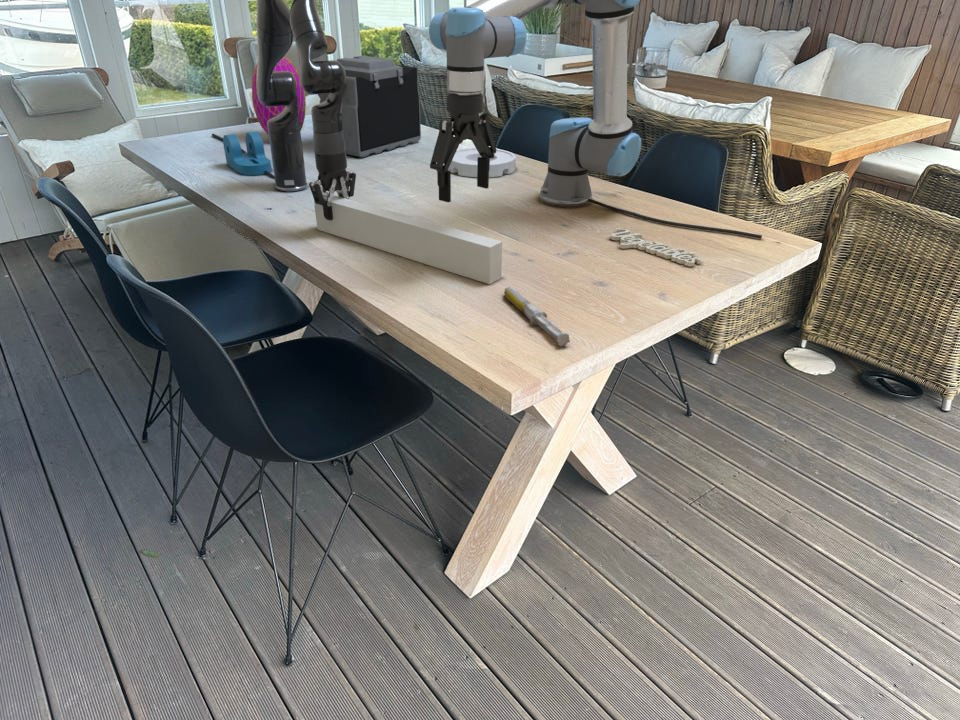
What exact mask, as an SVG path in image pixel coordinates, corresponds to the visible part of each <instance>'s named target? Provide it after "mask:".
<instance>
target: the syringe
mask: <svg viewBox="0 0 960 720" xmlns="http://www.w3.org/2000/svg"><path fill="white" fill-rule="evenodd" d="M504 297H505V298H506V299H507V300H508V301H509V302H510V303H512V305H513V306H515V307H516V308H517V309H518V310H519V311H520V312H521V313H522V314H523V316H525V317H526V318H527V319H528V320H529V323H530V324H531V326H538V327H540V328H541V329H542V330H543V331H544V332H545V333H547V335H549V336H550V337H551V338H552V339H553V340H554V341H555V342H556V343H557V345H558V346H559V347H560V348H561V347H565V346H567V345H568V344H569V343H570V342H571V339H570V334H569V333H567V332H565V333H564V332H563V331H562V330H561V329H560V328H559V327H558V326H556V325H555V324H554V323H552V321H550V320H548V315H547V313H546V312H545V311H541V310H540V309H538V308H537V306H535V305H534V304H533V303H531V301H529V300H528V299H527V298H526V297H524V296H523V295H522V294H521V293H520V292H519V291H518V290H517V289H516V288H515V287H514V286H512V285H511V286H508V287H507V286H506V287H505V288H504Z"/></svg>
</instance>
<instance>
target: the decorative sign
mask: <svg viewBox="0 0 960 720" xmlns="http://www.w3.org/2000/svg"><path fill="white" fill-rule="evenodd" d="M642 237H643V234H642V233H631V229H628V228H627V229H626V228H619V227H618V228H617V229H616V232H613V233H611V234H610V240H612V241H616V242H618V241H619V249H638V250H640V251H645V252H646V253H648V254H651V255H656V256H657V257H661V258H663V259H666V260H671V262H674V263H675V262H676V263H678V264H679V265H680V264H682V265H684V266H686V267H694V266H695V264H697V265H700V264H701V261H702V259H701V258H700V257H695V252H694V251H685V248H681V247H679V248H671V249H670V247H669V245H667V244H666V243H665V242H664V243H663V242H657V241H653V242H652V241H647V240H644V239H642Z"/></svg>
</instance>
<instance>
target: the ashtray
mask: <svg viewBox="0 0 960 720" xmlns="http://www.w3.org/2000/svg"><path fill="white" fill-rule="evenodd" d="M493 154H494V153H493ZM494 155H495V156H494V158H493V159H492V158H490V170H489V178H498V177H503V175H510V174H512V173H514V172H515V170H516V167H517V165H516V163H517V162H516V161H517V156H516V155H515V153H513V152H511V151H508V150H506V149H505V150H504V149H499V148H496V153H495V154H494ZM478 157H482V156H480V154H479V152H478V151H477V149H476V147H468V148H459V149H457V151H456V153H455V155H454V157H453V159H452V162H451V164H450V166H449V168H448V171H451V174H457V175H458V176H462V177H467V178H477V160H478Z"/></svg>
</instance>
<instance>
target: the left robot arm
mask: <svg viewBox="0 0 960 720" xmlns="http://www.w3.org/2000/svg"><path fill="white" fill-rule="evenodd" d="M256 39H257V62H258V65H257V64H256V65H257V79H256V89H257V96H258V99H259V101H260V103H261V104H262V105H263V106H267V107H274V106H285V109H284V110H283V111H282V112H281V113H280V114H279V115H277V116H275V117H273V118H271V119H269V120H268V122H267V127H268V134H269V135H268V140H269V146H270V155H271V162H272V168H273V173H271V172H268V171H266V170H265V172H264V173H265V174H264V175H267V176H269V177H270V178H271V179H273V180H274V182H275V183H274V184H275V186H274V187H275V190H277V191H280V192H285V193H287V192H288V193H289V192H291V193H292V192H298V191H303V190H305V189H307V188H308V186H309V189H310V192H311V194H312V198H313V201H314V200H315V203H316V204H319V205H322V206H323V213H324V217H325V219H326V220H330V221H331V220H333V213H332V206H331V201H332V197H333V196H334V195H335V192H336V194H337V196H339V197H342V198H346V199H350V198H351V197H354V195H355V187H356V179H357V173H355V172H352V171H347V168H348V161H347V160H348V159H347V154H346V148H345V138H344V134H343V126H342V103H343V97H344V91H345V86H346V73H345V70H344V68H343V66H342V65H341V63H339V62H338V61H337V60H333V59H332V60H331V59H330V60H317V61H314V60H315V59H318V58H320V57H322V56H323V55H325V54H326V53H327V51H328V48H329V46H328V41H327V38H326V35H325V31H324V29H323V25H322V22H321V19H320V15H319V13H318V8H317V5H316V0H292V3H291V7H289V5H288V4H287V3H286V1H285V0H256ZM293 42H295V45H296V48H297V54H298V65H299V67H298V68H299V71H298V73H299V75H300V83H301V86H302V88H303V89H304V92H305V93H307V94H308V95H313V96H314V95H318V94H326V93H329V95H328V97H327V99H326V101H324V102H322V103H320V102H319V103H317V104H315V105H313V106H312V107H311V111H310V112H311V113H310V114H311V121H312V130H313V131H312V133H313V134H312V135H313V137H312V139H313V140H312V141H313V150H314V159H315V160H314V161H315V168H316V170H317V172H318V175H317V179H316V180H315V181H314V182H313V181H310V182H309V183H307V176H306V165H305V157H304V150H303V141H302V135H301V134H302V133H301V131H300V124H299V113H298V101H297V87H296V81H295V78H294V76H293V74H292V73H291V72H289V71H278V72H273V71H274V68H275V67H276V65H277V64H278V63H279V61H280V60H281V59H282V58H283V57H285V56H286V55H287V54H288V53H289V51H290V49H291V48H292V46H293ZM211 137H214V138H215V139H218V140H221V142H223V137H222V136H220V135H217V134H215V133H211ZM241 150H242V153H247V151H245V150H244V149H243V148H241ZM326 197H327V201H326Z"/></svg>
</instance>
